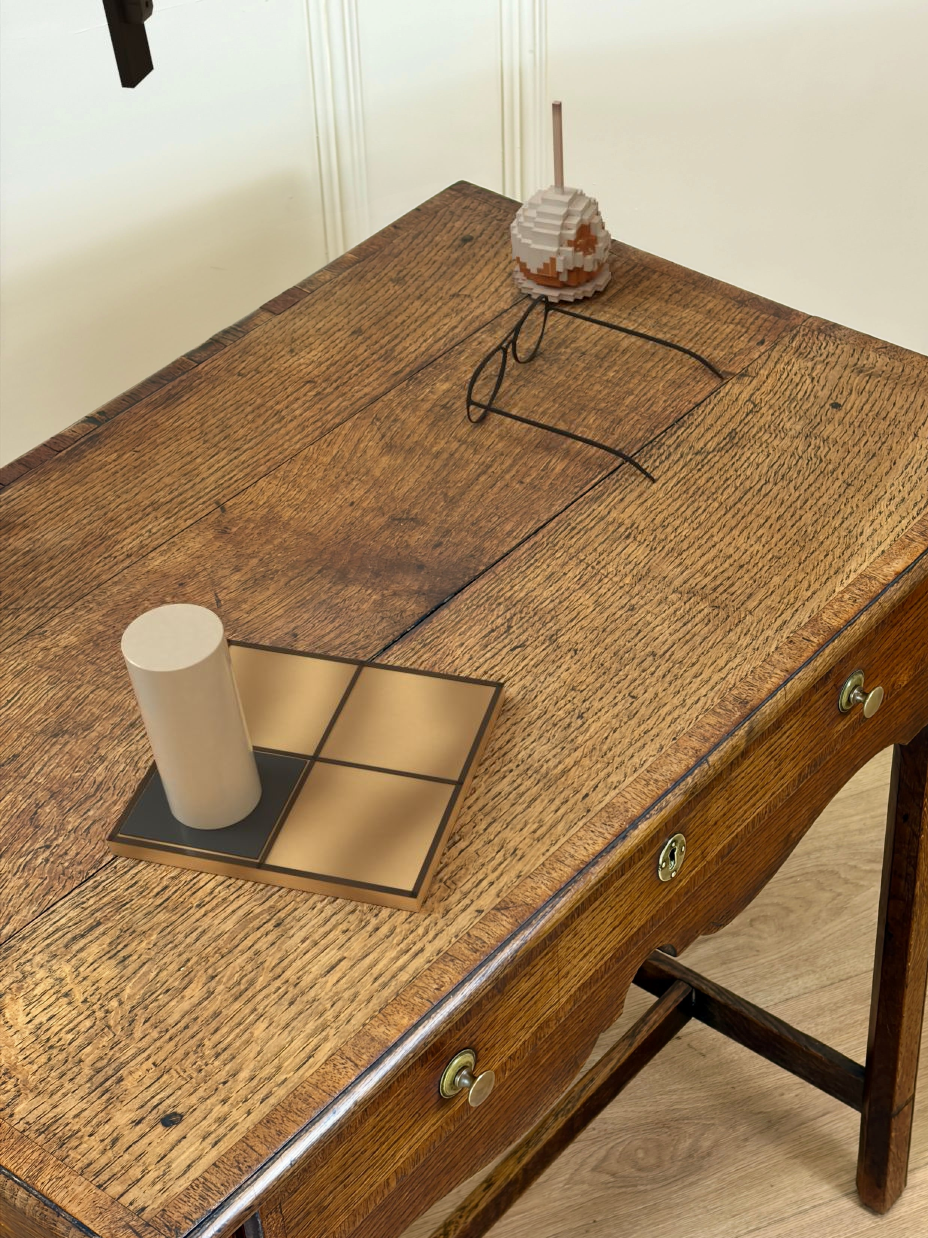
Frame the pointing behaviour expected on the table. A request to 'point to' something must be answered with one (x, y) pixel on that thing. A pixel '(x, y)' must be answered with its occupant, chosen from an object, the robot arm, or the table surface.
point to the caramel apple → (560, 237)
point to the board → (334, 778)
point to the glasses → (514, 341)
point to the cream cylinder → (193, 714)
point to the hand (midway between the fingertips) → (31, 69)
